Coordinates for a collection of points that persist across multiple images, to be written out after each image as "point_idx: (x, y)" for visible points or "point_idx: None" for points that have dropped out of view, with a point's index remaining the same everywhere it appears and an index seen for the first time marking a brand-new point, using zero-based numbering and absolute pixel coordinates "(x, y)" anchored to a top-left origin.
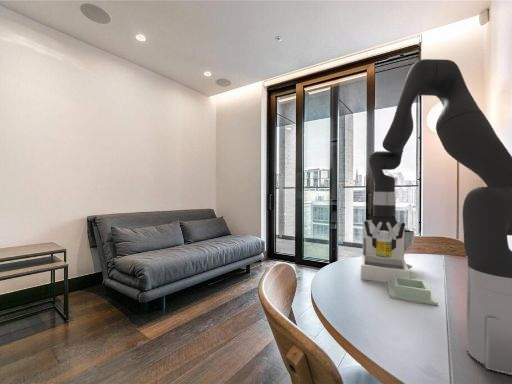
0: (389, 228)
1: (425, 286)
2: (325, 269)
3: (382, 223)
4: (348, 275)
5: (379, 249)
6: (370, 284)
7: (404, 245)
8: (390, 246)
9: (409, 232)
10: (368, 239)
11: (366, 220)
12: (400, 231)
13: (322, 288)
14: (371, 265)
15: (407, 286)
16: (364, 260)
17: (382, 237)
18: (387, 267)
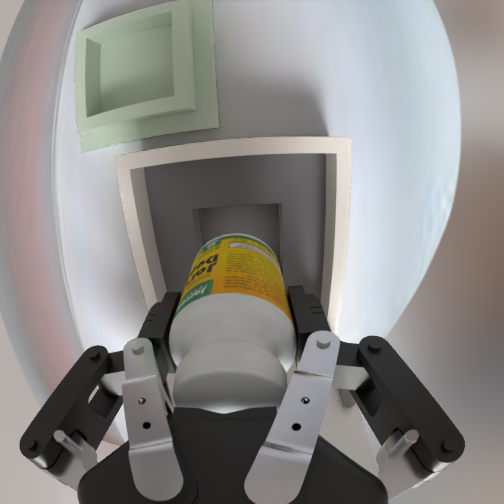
0: (155, 425)
1: (82, 63)
2: (449, 198)
3: (242, 490)
4: (377, 159)
5: (262, 263)
6: (286, 83)
7: None
8: (182, 294)
9: None
10: (326, 406)
11: (433, 476)
12: (73, 393)
13: (421, 7)
14: (293, 268)
15: (141, 17)
16: (335, 240)
17: (241, 340)
18: None
